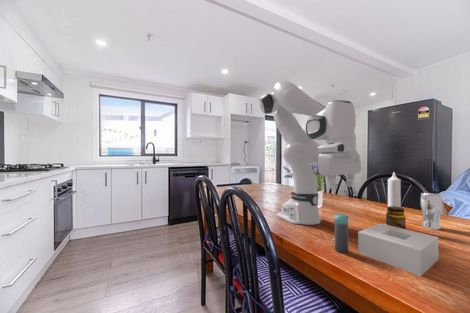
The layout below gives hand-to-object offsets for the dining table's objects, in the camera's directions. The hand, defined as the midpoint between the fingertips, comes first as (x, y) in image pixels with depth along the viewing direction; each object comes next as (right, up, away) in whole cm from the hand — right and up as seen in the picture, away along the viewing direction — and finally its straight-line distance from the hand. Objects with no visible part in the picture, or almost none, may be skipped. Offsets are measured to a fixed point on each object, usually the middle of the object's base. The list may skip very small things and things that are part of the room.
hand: (341, 187), depth 70 cm
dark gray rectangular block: (0, -22, 0) cm, 22 cm away
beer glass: (+52, -21, +22) cm, 60 cm away
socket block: (+16, -22, -4) cm, 27 cm away
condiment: (+26, -22, +11) cm, 36 cm away
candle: (+35, -22, +22) cm, 46 cm away
